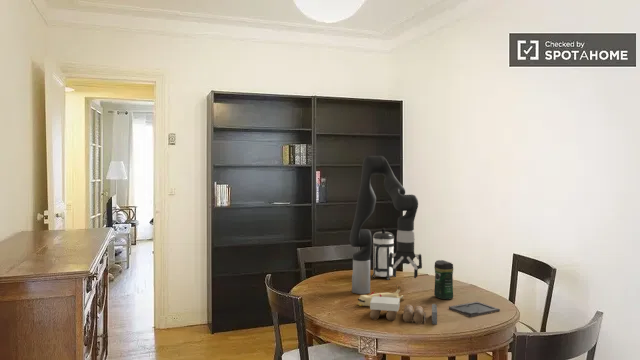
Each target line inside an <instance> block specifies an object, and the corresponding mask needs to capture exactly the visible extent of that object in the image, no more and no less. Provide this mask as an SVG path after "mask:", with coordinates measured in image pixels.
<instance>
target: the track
mask: <svg viewBox="0 0 640 360" xmlns="http://www.w3.org/2000/svg"><path fill="white" fill-rule="evenodd" d="M381 312H382V310H372V309H370V313H369V316H370V319H372V320H374V321H375V320H378V319H379V318H380V316H381ZM397 312H398V311H386V315H385V316H386V319H387V320H388V321H389V322H391V321H395V319H397V318H396V317H397ZM402 313H403V314H402V320H403V321H404V323H405V322H406V323H410V322H411V323H412V324H414V320H413V317H414V307H413V305H411V304H406V305H405V306H404V309H403V312H402ZM426 315H427V313H426V312H423V325H424V324H425V325H426V319H427V318H426Z"/></svg>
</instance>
